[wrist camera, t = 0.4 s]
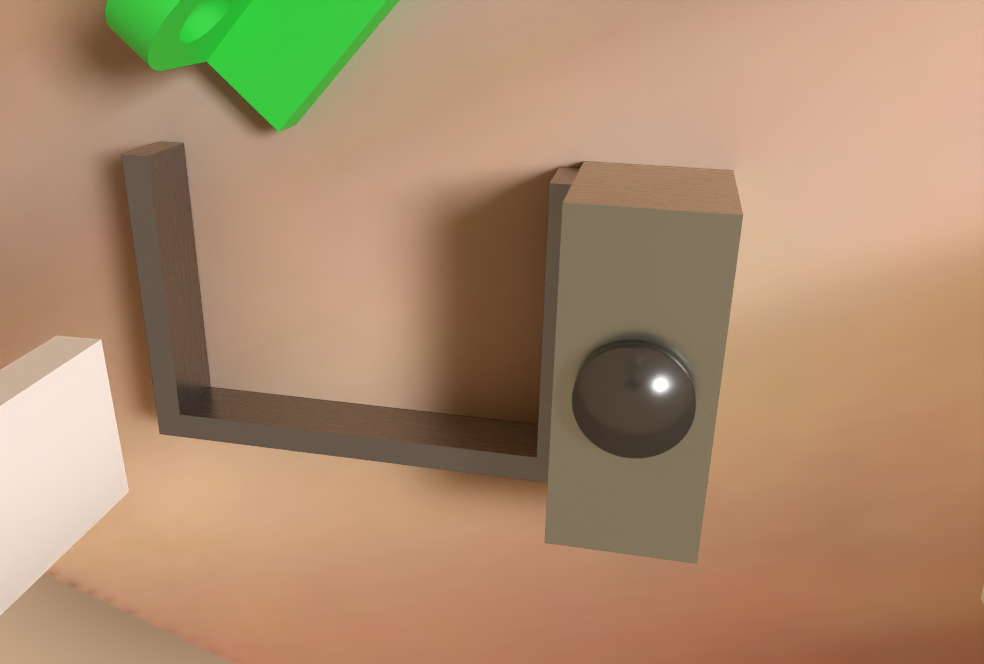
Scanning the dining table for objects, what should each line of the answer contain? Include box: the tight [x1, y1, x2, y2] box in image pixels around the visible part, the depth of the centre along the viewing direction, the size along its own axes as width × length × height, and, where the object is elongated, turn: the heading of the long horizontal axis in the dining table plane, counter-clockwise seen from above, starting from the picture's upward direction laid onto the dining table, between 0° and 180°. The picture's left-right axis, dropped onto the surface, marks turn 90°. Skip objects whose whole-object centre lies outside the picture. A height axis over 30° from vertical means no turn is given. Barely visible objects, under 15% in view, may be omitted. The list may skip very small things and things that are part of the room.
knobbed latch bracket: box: [121, 142, 743, 564], centre depth 37 cm, size 14×25×8 cm, turn 89°
